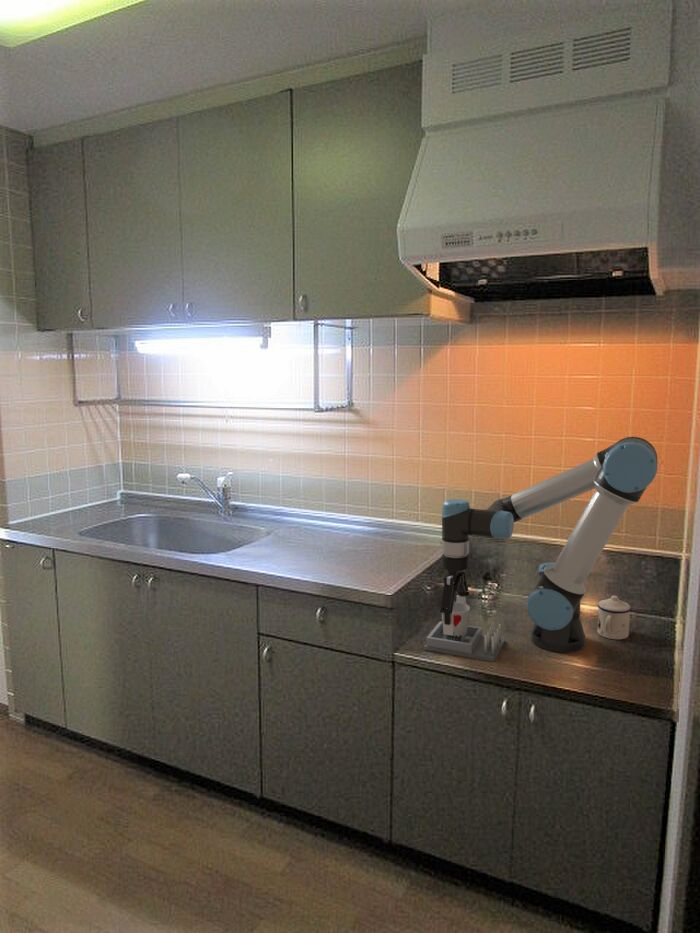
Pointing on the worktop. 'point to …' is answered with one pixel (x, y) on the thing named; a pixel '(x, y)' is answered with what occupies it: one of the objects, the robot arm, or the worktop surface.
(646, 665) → the worktop surface
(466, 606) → the cup
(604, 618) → the teacup with lid
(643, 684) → the worktop surface
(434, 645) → the dish rack
